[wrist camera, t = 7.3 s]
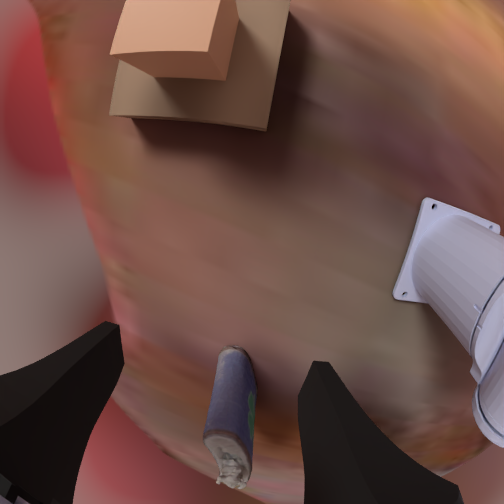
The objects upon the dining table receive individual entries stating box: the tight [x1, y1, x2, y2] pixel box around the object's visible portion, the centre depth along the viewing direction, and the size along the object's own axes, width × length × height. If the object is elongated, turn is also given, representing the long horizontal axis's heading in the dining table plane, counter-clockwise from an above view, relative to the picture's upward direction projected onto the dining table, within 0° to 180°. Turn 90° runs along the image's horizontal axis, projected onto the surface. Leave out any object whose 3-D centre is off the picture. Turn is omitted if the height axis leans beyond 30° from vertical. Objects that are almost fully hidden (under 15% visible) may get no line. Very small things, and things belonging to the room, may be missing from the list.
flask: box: [203, 346, 257, 489], centre depth 19 cm, size 9×3×11 cm, turn 4°
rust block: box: [110, 0, 239, 81], centre depth 9 cm, size 4×4×5 cm
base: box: [109, 0, 291, 131], centre depth 13 cm, size 9×9×3 cm
